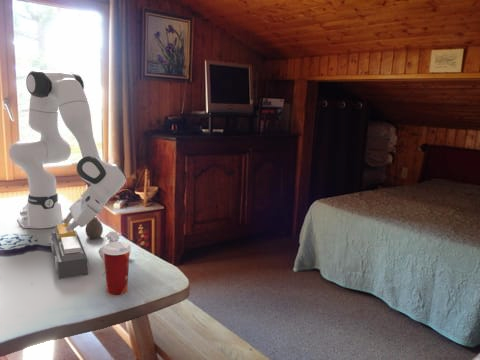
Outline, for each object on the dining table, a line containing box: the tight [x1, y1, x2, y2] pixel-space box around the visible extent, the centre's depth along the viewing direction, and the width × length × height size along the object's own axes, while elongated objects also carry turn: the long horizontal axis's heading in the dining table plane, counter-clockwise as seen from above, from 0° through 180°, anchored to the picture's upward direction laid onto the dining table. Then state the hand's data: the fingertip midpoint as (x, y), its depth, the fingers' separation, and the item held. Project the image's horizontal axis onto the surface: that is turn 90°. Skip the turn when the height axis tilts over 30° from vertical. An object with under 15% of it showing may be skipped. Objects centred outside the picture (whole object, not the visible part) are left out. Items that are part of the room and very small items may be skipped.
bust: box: [98, 230, 132, 263], centre depth 150 cm, size 12×8×11 cm
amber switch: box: [56, 222, 75, 238], centre depth 152 cm, size 12×5×2 cm, turn 29°
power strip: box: [50, 227, 89, 280], centre depth 146 cm, size 30×9×8 cm, turn 29°
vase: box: [85, 216, 104, 240], centre depth 170 cm, size 7×7×9 cm
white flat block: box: [61, 236, 81, 254], centre depth 138 cm, size 12×5×2 cm, turn 29°
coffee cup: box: [103, 241, 132, 296], centre depth 125 cm, size 8×8×15 cm
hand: (65, 226), depth 152 cm, fingers open, 8 cm apart
